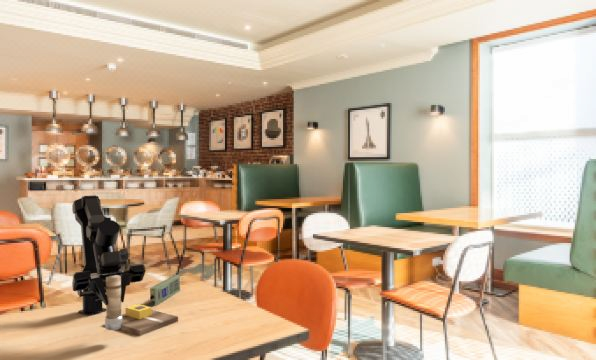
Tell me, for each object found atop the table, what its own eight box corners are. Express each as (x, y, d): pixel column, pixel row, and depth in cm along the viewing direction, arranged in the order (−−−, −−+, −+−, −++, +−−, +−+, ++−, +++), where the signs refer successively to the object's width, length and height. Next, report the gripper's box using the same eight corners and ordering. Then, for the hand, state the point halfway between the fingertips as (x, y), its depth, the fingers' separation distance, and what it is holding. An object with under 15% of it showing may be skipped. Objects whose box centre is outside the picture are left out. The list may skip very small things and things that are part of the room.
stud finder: (125, 315, 137) (125, 307, 137) (137, 311, 141) (137, 303, 141) (139, 319, 133) (139, 310, 133) (151, 315, 137) (151, 306, 137)
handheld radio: (181, 291, 171) (149, 311, 146) (174, 291, 171) (140, 311, 147) (180, 274, 171) (148, 292, 146) (173, 274, 171) (139, 292, 147)
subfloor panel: (105, 324, 133) (105, 319, 133) (143, 311, 145) (143, 307, 145) (140, 335, 124) (140, 330, 124) (177, 321, 136) (177, 316, 136)
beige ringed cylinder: (102, 328, 118) (101, 277, 118) (116, 323, 122) (115, 274, 122) (111, 331, 116) (111, 279, 116) (126, 326, 120) (125, 276, 119)
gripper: (72, 243, 116) (80, 293, 108) (143, 236, 127) (155, 281, 118) (69, 266, 123) (75, 315, 114) (136, 258, 134) (147, 302, 125)
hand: (114, 303), depth 118 cm, fingers closed on beige ringed cylinder, 4 cm apart
